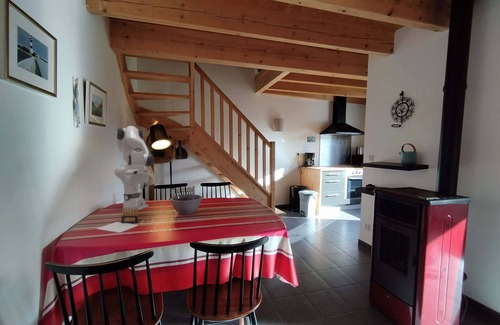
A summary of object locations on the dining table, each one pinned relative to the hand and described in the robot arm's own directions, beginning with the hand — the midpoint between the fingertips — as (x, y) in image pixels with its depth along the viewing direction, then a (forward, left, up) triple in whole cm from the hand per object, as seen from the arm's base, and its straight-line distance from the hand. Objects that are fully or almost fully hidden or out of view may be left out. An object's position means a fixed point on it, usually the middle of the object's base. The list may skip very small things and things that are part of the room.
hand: (137, 189), depth 178 cm
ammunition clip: (+8, 0, -23) cm, 24 cm away
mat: (+18, 0, -23) cm, 29 cm away
